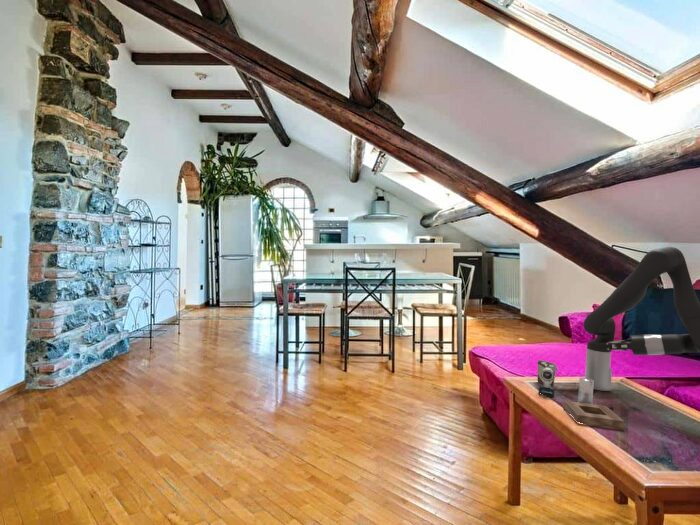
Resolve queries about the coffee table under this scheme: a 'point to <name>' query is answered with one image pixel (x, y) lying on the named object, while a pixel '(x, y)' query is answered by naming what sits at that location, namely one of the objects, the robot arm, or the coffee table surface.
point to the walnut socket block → (594, 415)
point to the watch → (547, 382)
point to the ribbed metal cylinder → (585, 390)
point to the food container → (542, 366)
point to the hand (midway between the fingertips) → (596, 346)
